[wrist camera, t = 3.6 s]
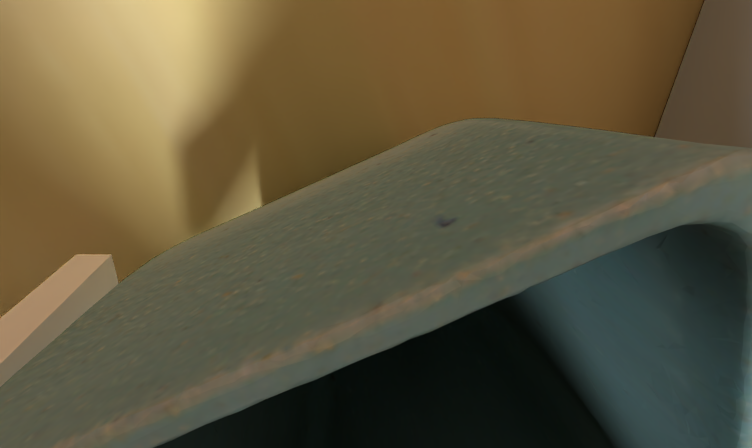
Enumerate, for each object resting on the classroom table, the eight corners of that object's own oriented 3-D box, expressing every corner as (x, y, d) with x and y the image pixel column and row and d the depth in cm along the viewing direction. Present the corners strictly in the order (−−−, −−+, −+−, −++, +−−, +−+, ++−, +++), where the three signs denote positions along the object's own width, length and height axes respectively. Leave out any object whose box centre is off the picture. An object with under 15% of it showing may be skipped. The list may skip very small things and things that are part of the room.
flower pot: (519, 298, 14) (768, 620, 6) (305, 386, 15) (285, 786, 7) (447, 63, 11) (834, 126, 3) (164, 192, 11) (-245, 580, 3)
